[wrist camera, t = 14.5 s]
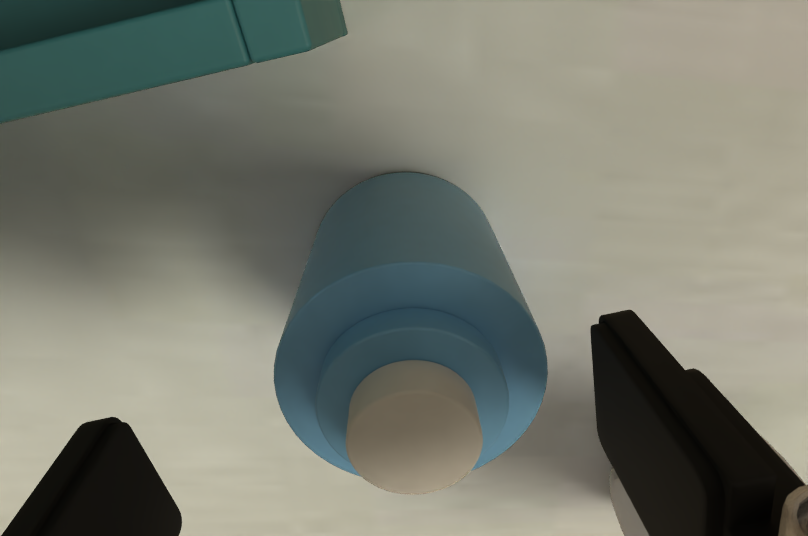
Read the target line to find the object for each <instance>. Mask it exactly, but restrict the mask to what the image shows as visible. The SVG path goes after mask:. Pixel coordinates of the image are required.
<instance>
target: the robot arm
mask: <svg viewBox="0 0 808 536" xmlns="http://www.w3.org/2000/svg"><path fill="white" fill-rule="evenodd" d="M591 345H592V360H593V376H594V391H595V406H596V421H597V432H598V436H599V439H600V442H601V445H602V447H603V449H604V451H605V453H606V455H607V457H608V459H609V461H610V462H611V464H612V466H613V468H614V470H615V472H616V474H617V476H618V478H619V480H620V481H621V483H622V485H623V487H624V489H625V491H626V493H627V495H628V497H629V498H630V500H631V502H632V504H633V506H634V508H635V510H636V512H637V514H638V515H639V517H640V519H641V521H642V523H643V525H644V527H645V529H646V531H647V533H648V534H649V536H808V485H805V484H804V483H803V482H802V481H801V480H800V479H799V477H798V476H797V475H796V474H795V473H794V472H793V471H792V470H791V469H790V468H789V467H788V465H787V464H786V463H785V462H784V461H783V460H782V459H781V458H780V457H779V456H778V455H777V453H776V452H775V451H774V450H773V449H772V448H771V447H770V446H769V445H768V444H767V443H766V441H765V440H764V439H763V438H762V437H761V436H760V435H759V434H758V433H757V432H756V431H755V430H754V428H753V427H752V426H751V425H750V424H749V423H748V422H747V421H746V420H745V419H744V418H743V416H742V415H741V414H740V413H739V412H738V411H737V410H736V409H735V408H734V407H733V406H732V404H731V403H730V402H729V401H728V400H727V399H726V398H725V397H724V396H723V395H722V394H721V392H720V391H719V390H718V389H717V388H716V387H715V386H714V385H713V384H712V383H711V382H710V380H709V379H708V378H707V377H706V376H705V375H704V374H702V373H701V372H700V371H699V370H696V369H689V370H684V368H683V367H682V366H681V365H680V364H679V363H678V362H677V360H676V359H675V358H674V357H673V356H672V355H671V354H670V352H669V351H668V350H667V349H666V348H665V347H664V346H663V344H662V343H661V342H660V341H659V340H658V339H657V338H656V336H655V335H654V334H653V333H652V332H651V331H650V330H649V328H648V327H647V326H646V325H645V324H644V323H643V322H642V320H641V319H640V318H639V317H638V316H637V315H636V314H635V313H634V312H633V311H632V310H625V311H620V312H616V313H611V314H606V315H601V316H600V318H599V324H595V325H592V326H591ZM181 525H182V517H181V513H180V511H179V509H178V507H177V505H176V504H175V502H174V500H173V498H172V497H171V495H170V493H169V492H168V490H167V488H166V487H165V485H164V483H163V481H162V480H161V478H160V476H159V475H158V473H157V471H156V470H155V468H154V466H153V464H152V463H151V461H150V459H149V458H148V456H147V454H146V452H145V451H144V449H143V447H142V446H141V444H140V442H139V441H138V439H137V437H136V435H135V434H134V432H133V430H132V429H131V427H130V426H129V424H127V423H125V422H121V421H120V420H119V419H118V418H116V417H110V418H105V419H100V420H95V421H91V422H86V423H84V424H82V425H81V426H80V427H79V428H78V429H77V431H76V432H75V433H74V435H73V436H72V438H71V439H70V440H69V442H68V443H67V445H66V446H65V447H64V449H63V450H62V452H61V453H60V454H59V456H58V457H57V459H56V460H55V461H54V463H53V464H52V466H51V467H50V468H49V470H48V471H47V473H46V474H45V475H44V477H43V478H42V479H41V481H40V482H39V484H38V485H37V486H36V488H35V489H34V491H33V492H32V493H31V495H30V496H29V498H28V499H27V500H26V502H25V503H24V505H23V506H22V507H21V509H20V510H19V512H18V513H17V514H16V516H15V517H14V519H13V520H12V521H11V523H10V524H9V526H8V527H7V528H6V530H5V531H4V533H3V534H2V535H1V536H179V533H180V530H181Z"/></svg>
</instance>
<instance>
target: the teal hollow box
mask: <svg viewBox="0 0 808 536" xmlns="http://www.w3.org/2000/svg"><path fill="white" fill-rule="evenodd" d="M345 35H347V29H346V24H345V20H344V16H343V12H342V8H341V3H340V0H0V124H1V123H5V122H10V121H14V120H18V119H22V118H26V117H31V116H35V115H39V114H43V113H48V112H52V111H56V110H60V109H65V108H69V107H73V106H77V105H82V104H86V103H90V102H94V101H99V100H103V99H107V98H111V97H115V96H120V95H124V94H128V93H132V92H137V91H141V90H145V89H149V88H154V87H158V86H162V85H166V84H171V83H175V82H179V81H183V80H188V79H192V78H196V77H200V76H205V75H209V74H213V73H217V72H221V71H226V70H230V69H234V68H238V67H243V66H247V65H250V64H252V63H255V62H256V63H260V62H264V61H268V60H272V59H277V58H281V57H285V56H289V55H294V54H298V53H302V52H306V51H309V50H312V49H314V48H316V47H319V46H321V45H323V44H326V43H328V42H330V41H333V40H335V39H337V38H339V37H342V36H345Z"/></svg>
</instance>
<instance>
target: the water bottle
mask: <svg viewBox="0 0 808 536" xmlns="http://www.w3.org/2000/svg"><path fill="white" fill-rule="evenodd" d="M547 375H548V369H547V356H546V351H545V345H544V342H543V340H542V337H541V334H540V332H539V329H538V327H537V325H536V323H535V321H534V319H533V316H532V314H531V312H530V310H529V308H528V306H527V303H526V301H525V299H524V297H523V295H522V293H521V291H520V288H519V286H518V284H517V282H516V280H515V278H514V275H513V273H512V271H511V269H510V267H509V265H508V262H507V260H506V258H505V256H504V254H503V252H502V250H501V247H500V245H499V243H498V241H497V239H496V237H495V234H494V232H493V230H492V228H491V226H490V224H489V222H488V220H487V218H486V216H485V214H484V213H483V211H482V210H481V209H480V207H479V206H478V205H477V203H476V202H475V201H474V200H473V199H472V198H471V197H470V196H469V195H468V194H466V193H465V192H464V191H462V190H461V189H460V188H458V187H457V186H455V185H453V184H451V183H449V182H448V181H445V180H443V179H440V178H437V177H435V176H430V175H426V174H421V173H412V172H397V173H391V174H384V175H381V176H377V177H374V178H371V179H369V180H366V181H364V182H362V183H360V184H358V185H356V186H355V187H353V188H351V189H350V190H348V191H347V192H346V193H345V194H343V195H342V196H341V197H340V198H339V199H338V200H337V201H336V202H335V203H334V204H333V205H332V206H331V208H330V209H329V211H328V212H327V213H326V215H325V217H324V219H323V220H322V222H321V224H320V227H319V229H318V232H317V235H316V238H315V241H314V244H313V247H312V250H311V253H310V255H309V258H308V261H307V264H306V267H305V270H304V273H303V276H302V279H301V282H300V285H299V287H298V290H297V293H296V296H295V299H294V302H293V305H292V308H291V311H290V314H289V317H288V319H287V322H286V325H285V328H284V331H283V334H282V337H281V340H280V343H279V346H278V349H277V352H276V358H275V363H274V384H275V391H276V396H277V399H278V402H279V405H280V408H281V411H282V413H283V415H284V417H285V419H286V421H287V423H288V424H289V425H290V427H291V428H292V430H293V431H294V433H295V434H296V435H297V436H298V437H299V438H300V440H301V441H302V442H303V443H304V444H305V445H306V446H307V447H308V448H310V449H311V450H312V451H313V452H314V453H315V454H317V455H318V456H320V457H321V458H323V459H324V460H326V461H327V462H329V463H331V464H332V465H334V466H336V467H338V468H340V469H342V470H345V471H347V472H350V473H352V474H355V475H358V476H361V477H363V478H364V479H365V480H367V481H368V482H369V483H371V484H373V485H375V486H377V487H379V488H381V489H384V490H387V491H390V492H394V493H400V494H425V493H430V492H435V491H438V490H441V489H444V488H446V487H449V486H451V485H453V484H455V483H456V482H458V481H459V480H461V479H462V478H463V477H465V476H466V475H467V474H468V473H469V472H470V471H472V470H474V469H476V468H478V467H481V466H483V465H484V464H486V463H488V462H490V461H491V460H493V459H495V458H496V457H498V456H499V455H500V454H502V453H503V452H504V451H506V450H507V449H508V448H509V447H510V446H511V445H513V444H514V443H515V442H516V441H517V440H518V439H519V438H520V437H521V435H522V434H523V433H524V432H525V431H526V430H527V428H528V427H529V425H530V424H531V422H532V421H533V419H534V417H535V416H536V414H537V412H538V409H539V407H540V405H541V403H542V399H543V396H544V393H545V389H546V383H547Z"/></svg>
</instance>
